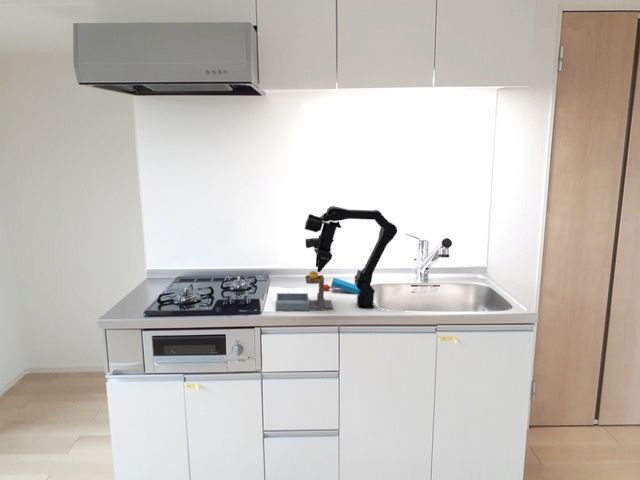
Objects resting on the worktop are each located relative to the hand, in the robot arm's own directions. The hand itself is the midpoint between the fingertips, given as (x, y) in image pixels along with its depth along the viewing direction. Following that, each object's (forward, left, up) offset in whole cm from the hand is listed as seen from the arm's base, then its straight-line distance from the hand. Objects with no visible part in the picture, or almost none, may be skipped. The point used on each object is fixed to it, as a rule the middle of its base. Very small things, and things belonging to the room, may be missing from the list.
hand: (317, 269), depth 201 cm
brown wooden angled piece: (+1, 0, -14) cm, 14 cm away
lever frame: (-2, 0, -17) cm, 17 cm away
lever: (-14, -22, -17) cm, 31 cm away
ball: (+2, 0, -3) cm, 3 cm away
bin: (+11, 0, -17) cm, 20 cm away
